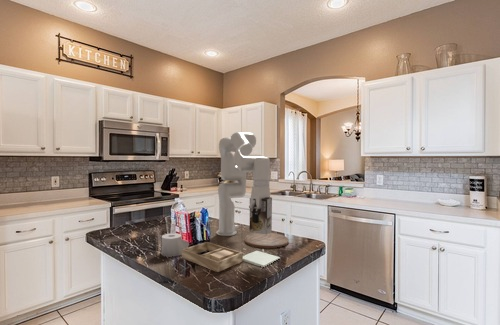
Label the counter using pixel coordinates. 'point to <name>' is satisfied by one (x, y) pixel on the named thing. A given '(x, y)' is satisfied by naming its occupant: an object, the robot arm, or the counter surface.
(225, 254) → the offcut top
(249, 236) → the trivet
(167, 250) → the toilet tissue
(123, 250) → the counter surface
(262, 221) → the coffee box
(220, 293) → the counter surface
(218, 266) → the wooden tray
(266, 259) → the pad
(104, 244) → the counter surface
